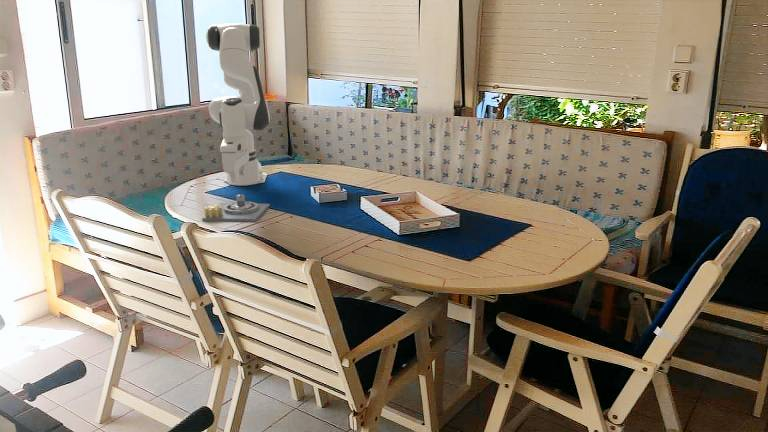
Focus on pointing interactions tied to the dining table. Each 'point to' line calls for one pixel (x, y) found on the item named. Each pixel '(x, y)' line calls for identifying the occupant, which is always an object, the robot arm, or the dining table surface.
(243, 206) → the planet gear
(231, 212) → the carrier board
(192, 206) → the dining table surface
